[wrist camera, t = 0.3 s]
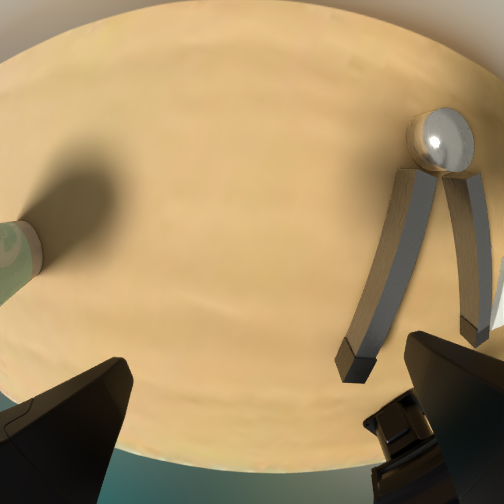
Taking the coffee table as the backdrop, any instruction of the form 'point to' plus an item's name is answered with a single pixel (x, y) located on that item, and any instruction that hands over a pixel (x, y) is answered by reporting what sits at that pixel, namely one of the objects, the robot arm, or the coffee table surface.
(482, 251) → the tongs fixed arm
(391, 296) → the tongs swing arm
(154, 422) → the coffee table surface
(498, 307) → the external hard drive
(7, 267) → the coffee cup
